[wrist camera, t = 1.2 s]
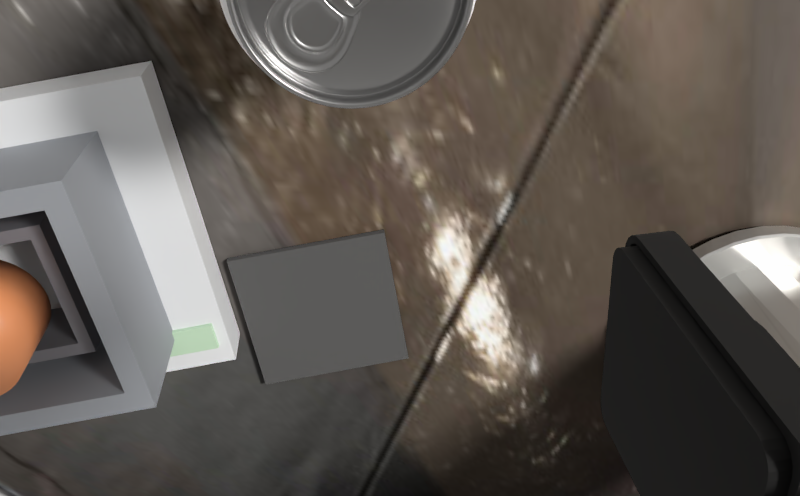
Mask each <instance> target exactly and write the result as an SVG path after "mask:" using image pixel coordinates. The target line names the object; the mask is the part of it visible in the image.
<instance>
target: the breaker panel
mask: <svg viewBox="0 0 800 496" xmlns="http://www.w3.org/2000/svg"><path fill="white" fill-rule="evenodd" d="M0 260H2V261H6V262H9V263H11V264H14V265H16V266H18V267H20V268H22V269H23V270H25V271H26V272H28V273H29V274H30V275H32V276H33V277H34V278H35V279H36V280H37V281H38V282H39V283H40V284H41V286H42V287H43V288H44V290H45V292H46V293H47V295H48V298H49V300H50V304H51V319H50V323H49V325H48V327H47V329H46V331H45V333H44V335H43V337H42V339H41V340H40V342H39V344H38V346H37V348H36V350H35V352H34V353H33V355H32V357H31V359H30V361H29V363H28V364H27V366H26V368H25V370H24V372H23V374H22V376H21V377H20V379H19V381H18V382H17V383H16V385H15V386H14V387H13V388H12V389H10V390H9V391H8V392H6V393H4V394H3V395H1V396H0V436H2V435H7V434H13V433H18V432H23V431H29V430H34V429H40V428H45V427H51V426H56V425H61V424H67V423H72V422H78V421H83V420H88V419H94V418H99V417H105V416H110V415H115V414H121V413H126V412H132V411H137V410H143V409H148V408H153V407H156V405H157V402H158V398H159V395H160V391H161V388H162V384H163V380H164V377H165V373H166V372H170V371H175V370H180V369H186V368H191V367H197V366H202V365H208V364H213V363H218V362H224V361H229V360H235V359H236V355H237V349H238V342H239V336H240V332H239V329H238V325H237V322H236V319H235V316H234V313H233V310H232V307H231V304H230V301H229V298H228V295H227V292H226V289H225V285H224V282H223V279H222V276H221V273H220V270H219V267H218V264H217V261H216V258H215V255H214V252H213V248H212V245H211V242H210V239H209V236H208V233H207V230H206V227H205V224H204V221H203V218H202V215H201V212H200V208H199V205H198V202H197V199H196V196H195V193H194V190H193V187H192V184H191V181H190V178H189V175H188V171H187V168H186V165H185V162H184V159H183V156H182V153H181V150H180V147H179V144H178V141H177V138H176V135H175V131H174V128H173V125H172V122H171V119H170V116H169V113H168V110H167V107H166V104H165V101H164V98H163V94H162V91H161V88H160V85H159V82H158V79H157V76H156V73H155V70H154V67H153V64H152V61H147V62H142V63H136V64H131V65H126V66H120V67H115V68H109V69H104V70H98V71H93V72H87V73H82V74H77V75H71V76H66V77H60V78H55V79H49V80H44V81H38V82H33V83H28V84H22V85H17V86H11V87H6V88H0Z"/></svg>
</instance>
